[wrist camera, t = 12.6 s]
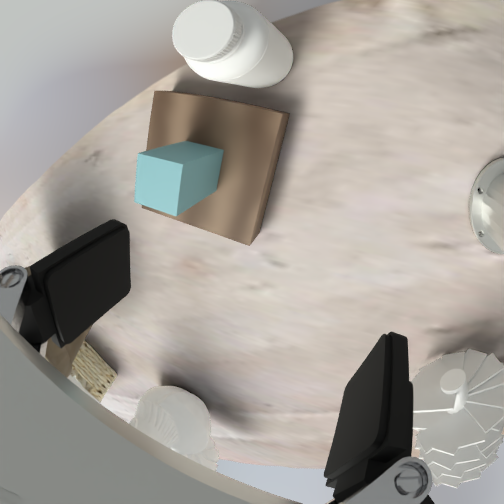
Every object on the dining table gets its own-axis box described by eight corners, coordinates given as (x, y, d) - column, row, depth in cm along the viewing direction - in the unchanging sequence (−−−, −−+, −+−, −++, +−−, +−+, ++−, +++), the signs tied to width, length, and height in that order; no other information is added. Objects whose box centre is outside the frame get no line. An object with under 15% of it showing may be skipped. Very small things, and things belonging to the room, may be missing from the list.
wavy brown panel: (289, 113, 32) (282, 113, 28) (259, 233, 40) (249, 245, 36) (172, 91, 34) (154, 90, 31) (157, 199, 42) (141, 207, 39)
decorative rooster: (143, 375, 67) (88, 447, 46) (185, 371, 60) (125, 461, 38) (199, 433, 73) (162, 501, 52) (244, 434, 66) (207, 515, 45)
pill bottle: (232, 28, 29) (163, -8, 16) (297, 31, 27) (260, -18, 14) (225, 86, 32) (152, 78, 20) (290, 92, 31) (249, 79, 18)
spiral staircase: (463, 319, 39) (476, 401, 44) (380, 382, 40) (410, 450, 45) (536, 367, 21) (521, 448, 26) (433, 460, 22) (445, 509, 27)
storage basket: (84, 333, 69) (49, 367, 57) (124, 377, 72) (95, 413, 59) (65, 352, 81) (38, 379, 69) (97, 387, 84) (73, 416, 71)
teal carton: (223, 149, 32) (182, 164, 24) (216, 190, 35) (176, 216, 27) (185, 140, 33) (137, 153, 25) (179, 179, 35) (134, 202, 28)
